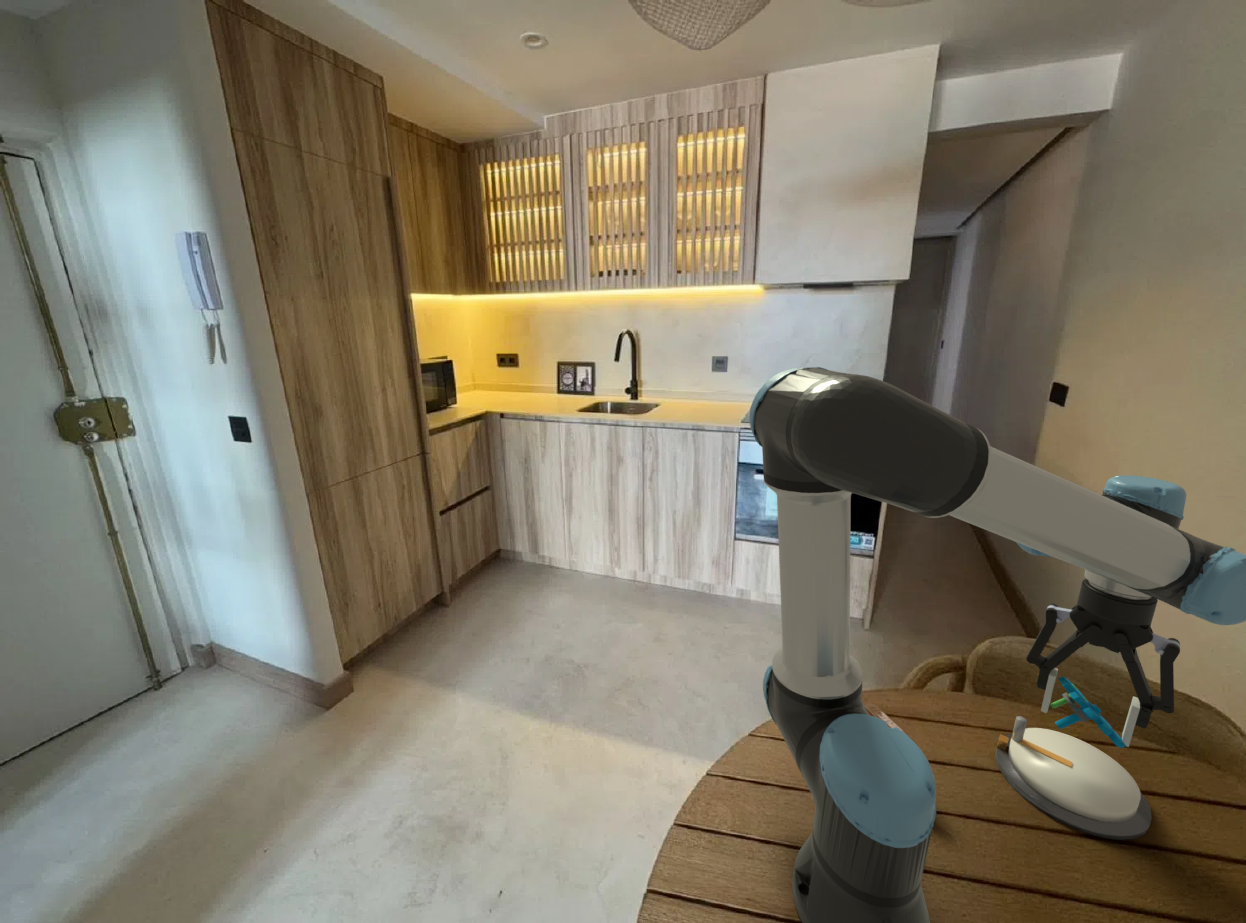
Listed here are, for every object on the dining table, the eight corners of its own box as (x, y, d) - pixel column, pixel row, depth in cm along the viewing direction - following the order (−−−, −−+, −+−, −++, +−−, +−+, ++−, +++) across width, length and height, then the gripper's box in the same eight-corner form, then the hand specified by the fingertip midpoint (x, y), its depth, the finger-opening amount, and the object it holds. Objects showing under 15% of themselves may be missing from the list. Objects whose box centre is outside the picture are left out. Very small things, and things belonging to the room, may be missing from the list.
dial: (1141, 778, 76) (1151, 746, 75) (1132, 844, 67) (1143, 809, 65) (1019, 723, 87) (1026, 694, 86) (997, 773, 78) (1004, 741, 76)
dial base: (983, 781, 78) (986, 768, 77) (1007, 720, 90) (1010, 708, 89) (1148, 868, 65) (1153, 853, 64) (1151, 783, 77) (1155, 770, 76)
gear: (1144, 760, 66) (1085, 697, 68) (1099, 778, 69) (1042, 716, 71) (1106, 713, 76) (1055, 659, 78) (1067, 729, 79) (1019, 676, 81)
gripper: (1018, 571, 74) (992, 699, 79) (1241, 629, 59) (1188, 783, 64) (1028, 555, 78) (1002, 677, 84) (1235, 605, 64) (1187, 750, 69)
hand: (1083, 723), depth 74 cm, fingers closed on gear, 8 cm apart
